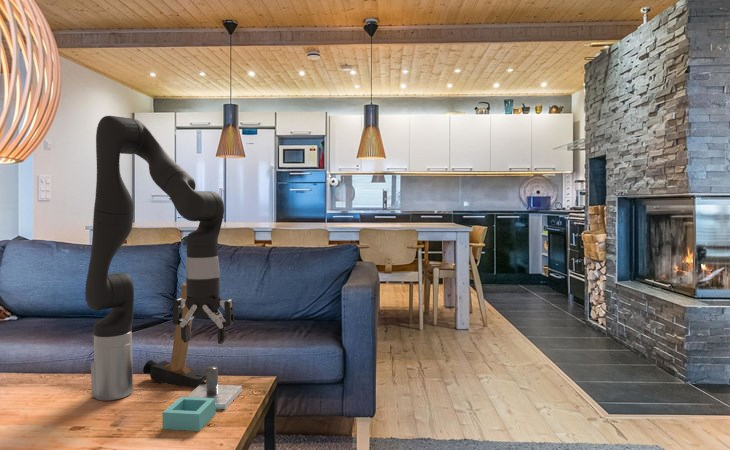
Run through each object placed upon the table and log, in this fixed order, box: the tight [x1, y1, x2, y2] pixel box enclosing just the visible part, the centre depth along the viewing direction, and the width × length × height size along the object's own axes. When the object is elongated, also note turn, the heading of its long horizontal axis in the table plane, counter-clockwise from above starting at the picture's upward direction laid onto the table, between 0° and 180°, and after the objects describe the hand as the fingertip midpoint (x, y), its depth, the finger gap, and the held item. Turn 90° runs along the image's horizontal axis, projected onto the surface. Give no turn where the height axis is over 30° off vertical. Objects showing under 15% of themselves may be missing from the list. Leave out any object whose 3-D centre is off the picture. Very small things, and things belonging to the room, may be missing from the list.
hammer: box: [142, 282, 206, 388], centre depth 140 cm, size 20×5×30 cm, turn 76°
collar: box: [161, 396, 217, 432], centre depth 117 cm, size 9×9×4 cm
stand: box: [185, 365, 243, 411], centre depth 129 cm, size 12×12×8 cm
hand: (203, 342), depth 115 cm, fingers open, 8 cm apart
